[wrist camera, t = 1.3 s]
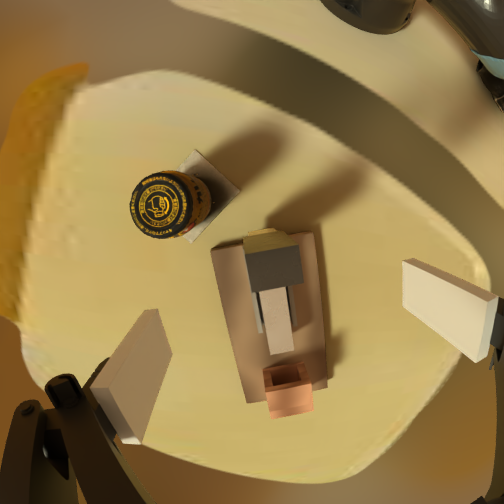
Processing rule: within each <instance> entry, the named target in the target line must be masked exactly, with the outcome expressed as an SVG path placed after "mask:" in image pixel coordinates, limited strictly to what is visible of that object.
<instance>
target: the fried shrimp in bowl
mask: <svg viewBox="0 0 504 504" xmlns="http://www.w3.org/2000/svg"><path fill="white" fill-rule="evenodd" d="M476 71H477V72H478V73H479V74H480V75H481V77H482V80H483V82H484V84H485V85H486V87H487V88H488V89H489V90H490V91H491V92H492V94H493V99H494V100H495V102H496V103H497V105H498V107H499V108H500V110H501V111H502V112H503V113H504V79H501V78H498V77H496V76H494V75H493V74H492V73H491V72H489V71H488V69H487V68H486V67H485V66H484V64H483V63H482V62H481V60H480V59H479V62H478V65H477V69H476Z"/></svg>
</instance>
